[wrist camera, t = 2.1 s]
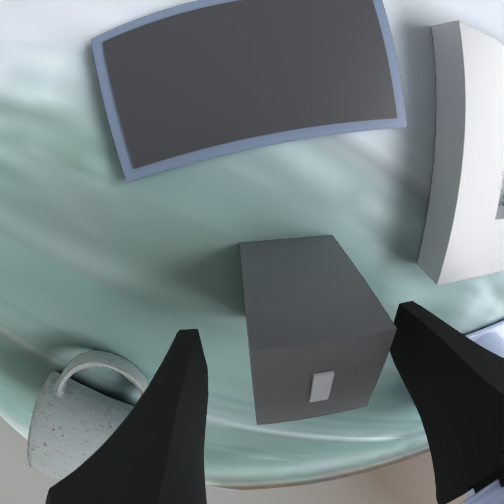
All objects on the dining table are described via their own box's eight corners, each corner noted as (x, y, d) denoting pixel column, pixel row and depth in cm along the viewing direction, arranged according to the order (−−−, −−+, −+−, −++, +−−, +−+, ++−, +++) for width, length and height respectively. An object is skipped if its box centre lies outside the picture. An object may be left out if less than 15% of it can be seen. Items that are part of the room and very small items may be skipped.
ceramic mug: (143, 435, 20) (135, 512, 13) (55, 400, 17) (30, 474, 11) (183, 371, 16) (175, 491, 9) (57, 318, 14) (3, 425, 7)
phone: (392, 124, 11) (408, 127, 9) (135, 175, 11) (125, 183, 10) (366, -2, 8) (379, -11, 7) (103, 44, 8) (89, 39, 7)
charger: (325, 307, 14) (367, 407, 9) (246, 316, 14) (257, 427, 9) (332, 235, 12) (398, 330, 7) (239, 242, 12) (250, 354, 7)
